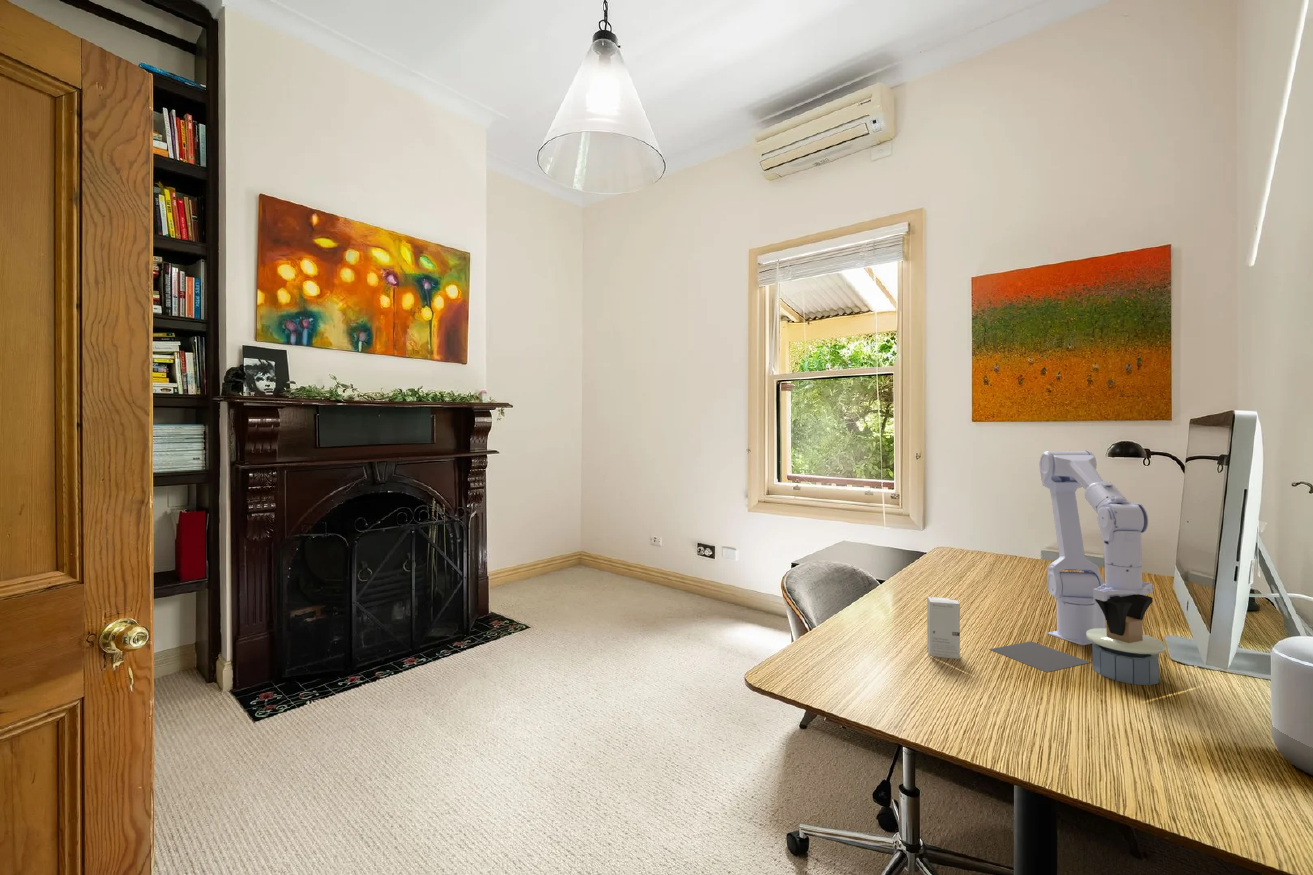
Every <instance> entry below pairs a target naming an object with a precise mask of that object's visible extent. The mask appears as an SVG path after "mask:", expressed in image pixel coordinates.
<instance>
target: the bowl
mask: <svg viewBox="0 0 1313 875" xmlns="http://www.w3.org/2000/svg"><path fill="white" fill-rule="evenodd" d="M1091 647H1092V649H1091V650H1092V652H1091V654H1092V670H1093V671H1094V672H1096V673H1097V674H1099V675H1100V676H1103V677H1105V678H1108V679H1110V680H1113V681H1116V682H1121V683H1124V684H1131V685H1136V686H1137V685H1141V686H1142V685H1143V686H1152V685H1157V684H1159V683H1160V670H1159V669H1160V666H1159V664H1160V661H1159V658H1160V657H1159V654H1138V653H1130V652H1124V651H1119V650H1114V649H1110V648H1107V647H1103V646H1101V645H1098V644H1096V643H1093V644H1092V646H1091Z"/></svg>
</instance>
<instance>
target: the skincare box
mask: <svg viewBox="0 0 1313 875" xmlns="http://www.w3.org/2000/svg"><path fill="white" fill-rule="evenodd" d="M926 599H927V600H926V603H927V604H926V605H927V606H926V615H927V616H926V635H927V636H926V640H927V641H926V646H927V647H926V649H927V652H928V654H929V656H930V657H934V658H935V657H938V658H945V659H947V658H948V659H959V660H960V658H961V653H960V650H961V634H960V633H961V630H960V629H961V621H960V620H961V604H960V603H959V601H958V600H957V599H956V598H948V597H935V596H927V597H926Z"/></svg>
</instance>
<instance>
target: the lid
mask: <svg viewBox="0 0 1313 875" xmlns="http://www.w3.org/2000/svg"><path fill="white" fill-rule="evenodd" d="M1086 636H1087V638H1088V639H1089V640H1090V641H1092V642H1093V643H1096V644H1098V645H1101V646H1103V647H1107V648H1110V649H1114V650H1119V651H1124V652H1130V653H1138V654H1158V655H1159V654H1163V653H1165V652H1166V644H1165V643H1164V642H1163V640H1160V639H1158V638H1156V637H1154V636H1151V635H1147V634H1144V633H1143V620H1140V619H1136V618H1132V617H1128V616H1127V617H1126V623H1125V631H1124V634H1123V635H1122V636H1120V635H1117V634H1113V633H1110V631H1109V628H1108V625H1107V622H1106V621H1105V628H1095V629H1090V630H1088V631H1087V632H1086Z"/></svg>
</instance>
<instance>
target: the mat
mask: <svg viewBox="0 0 1313 875" xmlns="http://www.w3.org/2000/svg"><path fill="white" fill-rule="evenodd" d="M988 650H989V651H990V652H991V651H992V652H994V653H997V654H998V655H1002V656H1005V657H1007V658H1008V659H1009V658H1010V659H1012V660H1013V661H1014V660H1015V661H1016V662H1019V663H1022V664H1024V665H1027V666H1029V667H1033V668H1035V669H1037V670H1039V671H1042V672H1043V673H1050V672H1055V671H1060V670H1065V669H1068V668H1074V667H1078V666H1082V665H1087V664H1091V663H1092V662H1091V661H1088V660H1087V659H1082V658H1079V657H1077V656H1073V655H1071V654H1069V653H1067V652H1066V653H1065V652H1062V651H1060V650H1058V649H1054V648H1052V647H1049V646H1046V645H1044V644H1040V643H1037V642H1034V641H1031V640H1030V641H1024V642H1020V643H1014V644H1010V645H1004V646H999V647H994V648H989V649H988Z"/></svg>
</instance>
